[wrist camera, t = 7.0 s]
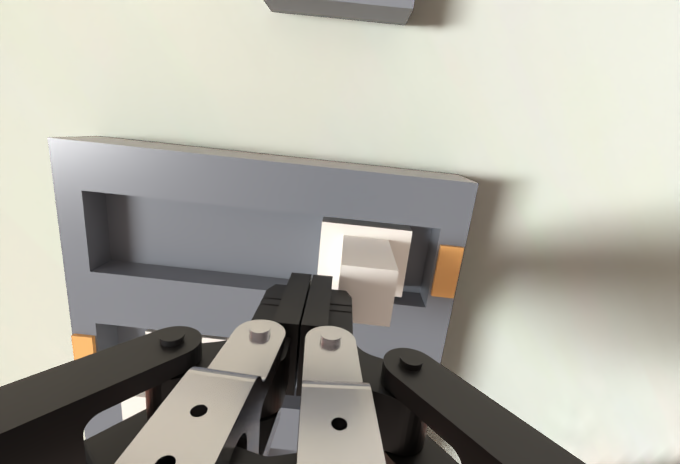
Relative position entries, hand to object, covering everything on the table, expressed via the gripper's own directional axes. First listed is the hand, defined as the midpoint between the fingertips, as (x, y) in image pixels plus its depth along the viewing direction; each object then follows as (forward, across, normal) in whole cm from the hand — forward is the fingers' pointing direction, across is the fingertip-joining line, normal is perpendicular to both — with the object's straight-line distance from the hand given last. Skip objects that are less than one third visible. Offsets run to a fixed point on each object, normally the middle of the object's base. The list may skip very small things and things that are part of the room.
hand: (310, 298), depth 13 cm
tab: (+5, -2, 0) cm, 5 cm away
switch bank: (+6, +3, +6) cm, 9 cm away
